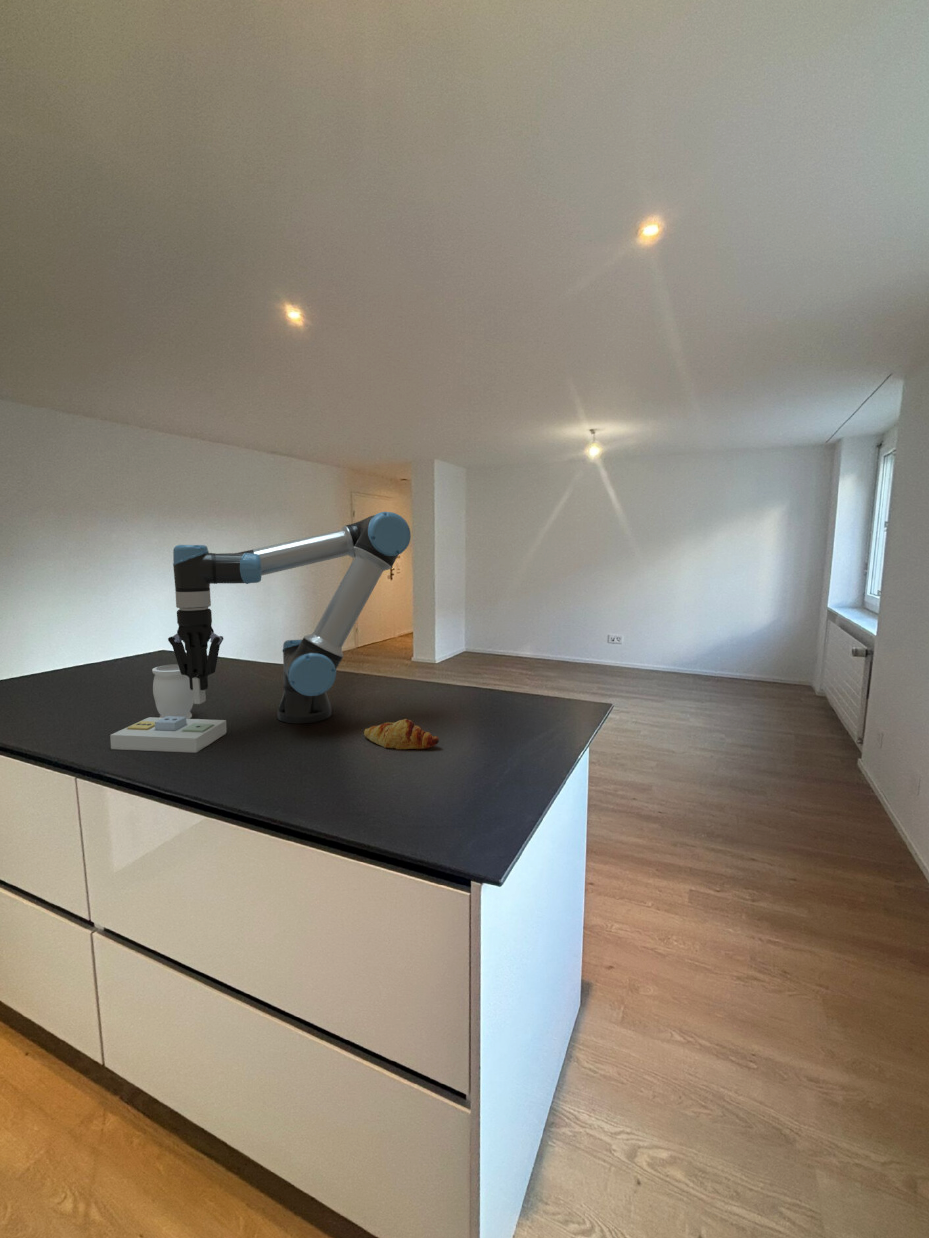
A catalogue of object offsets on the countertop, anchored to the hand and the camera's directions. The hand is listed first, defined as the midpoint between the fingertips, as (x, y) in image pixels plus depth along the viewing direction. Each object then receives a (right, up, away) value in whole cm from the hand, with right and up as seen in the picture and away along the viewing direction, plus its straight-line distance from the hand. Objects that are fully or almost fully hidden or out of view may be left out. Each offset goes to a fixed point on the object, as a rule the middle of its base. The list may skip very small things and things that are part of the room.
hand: (199, 702), depth 128 cm
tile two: (-8, -7, +1) cm, 11 cm away
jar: (-16, -8, +19) cm, 26 cm away
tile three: (-15, -9, +1) cm, 17 cm away
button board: (-8, -10, +1) cm, 13 cm away
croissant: (+50, -12, +4) cm, 51 cm away
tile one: (-1, -9, +1) cm, 9 cm away
